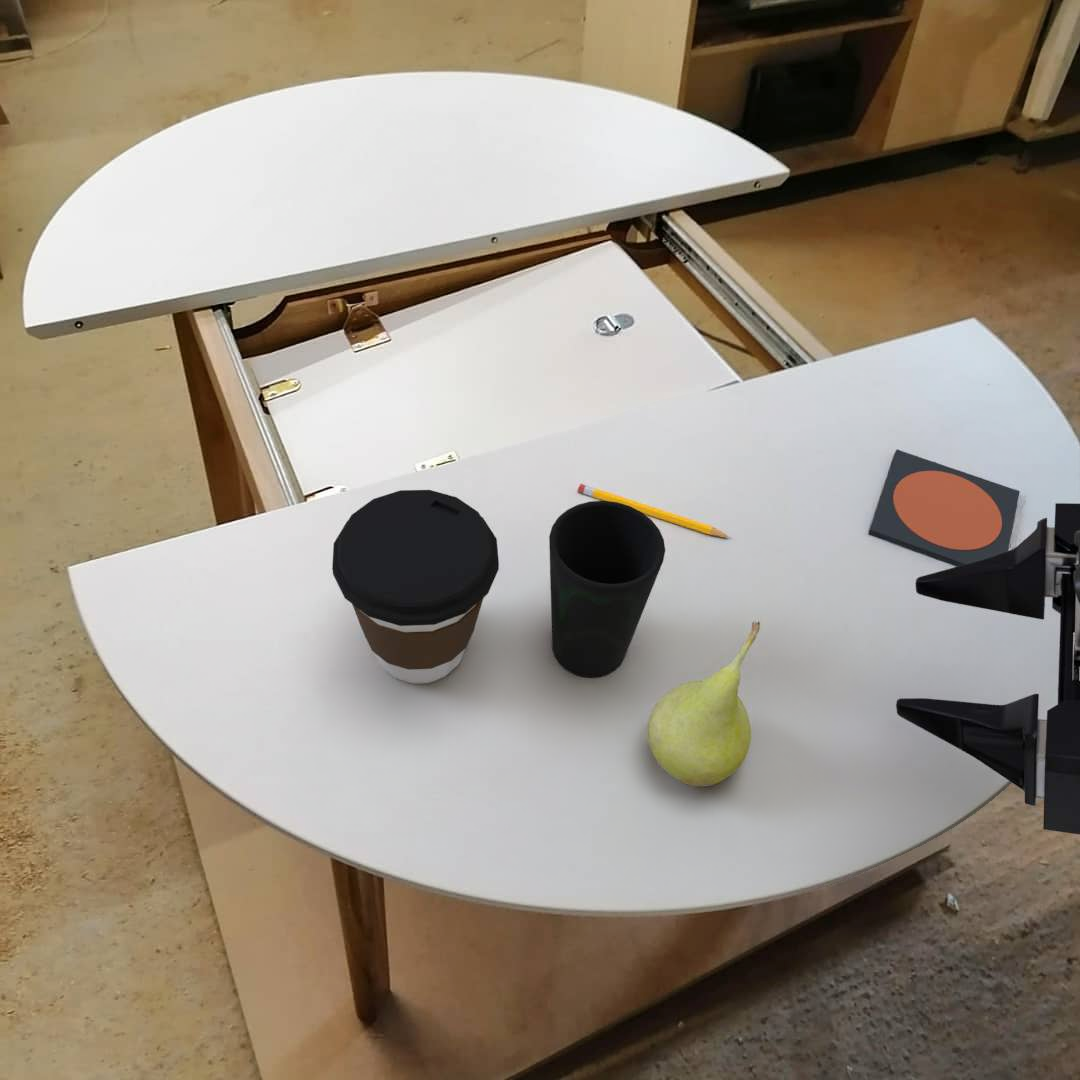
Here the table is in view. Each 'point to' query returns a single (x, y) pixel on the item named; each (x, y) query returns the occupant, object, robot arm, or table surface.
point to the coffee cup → (416, 579)
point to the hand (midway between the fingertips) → (906, 643)
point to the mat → (944, 511)
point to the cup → (600, 583)
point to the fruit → (703, 726)
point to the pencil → (652, 511)
